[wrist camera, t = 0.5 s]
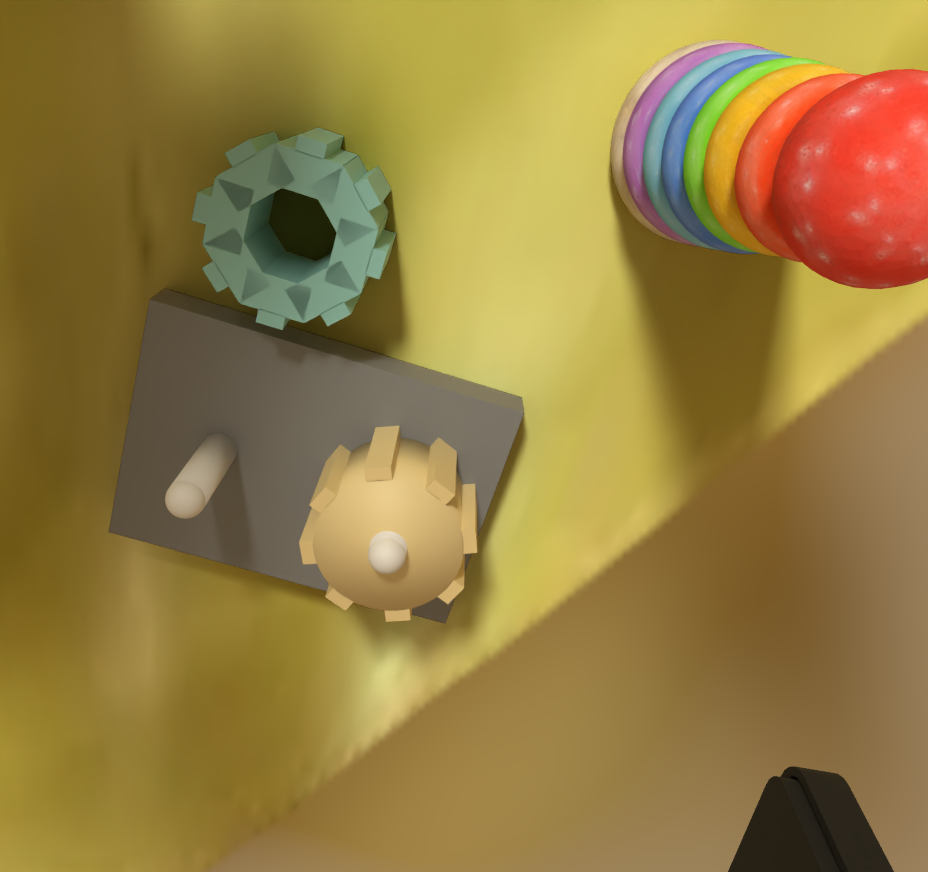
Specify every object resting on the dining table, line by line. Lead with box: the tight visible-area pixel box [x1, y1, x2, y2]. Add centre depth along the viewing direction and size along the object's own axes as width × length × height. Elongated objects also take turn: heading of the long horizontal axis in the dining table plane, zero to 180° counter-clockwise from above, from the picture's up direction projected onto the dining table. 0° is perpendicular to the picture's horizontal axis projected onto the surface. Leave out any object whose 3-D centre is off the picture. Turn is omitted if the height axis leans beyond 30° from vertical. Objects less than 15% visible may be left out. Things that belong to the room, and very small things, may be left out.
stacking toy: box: [610, 40, 928, 289], centre depth 27 cm, size 8×8×19 cm
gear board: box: [109, 289, 524, 623], centre depth 38 cm, size 17×12×8 cm
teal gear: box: [192, 128, 396, 330], centre depth 35 cm, size 8×8×4 cm
